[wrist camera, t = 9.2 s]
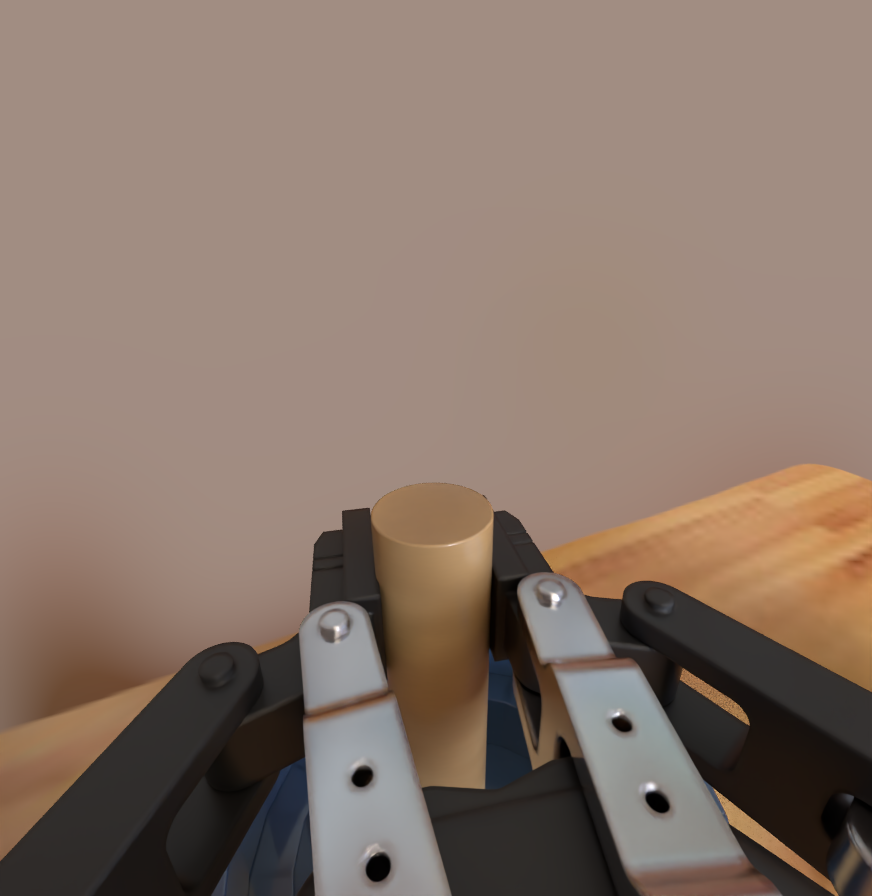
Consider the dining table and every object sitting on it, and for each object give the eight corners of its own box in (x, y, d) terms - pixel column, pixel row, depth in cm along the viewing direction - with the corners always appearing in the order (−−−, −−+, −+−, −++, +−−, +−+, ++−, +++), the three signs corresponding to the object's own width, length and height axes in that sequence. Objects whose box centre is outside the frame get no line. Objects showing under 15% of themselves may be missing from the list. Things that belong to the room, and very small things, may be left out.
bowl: (135, 1345, 11) (31, 1280, 8) (303, 711, 25) (285, 614, 22) (834, 1324, 11) (955, 1253, 8) (602, 704, 25) (619, 606, 22)
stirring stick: (368, 1037, 14) (289, 587, 7) (382, 856, 18) (338, 464, 11) (522, 1033, 14) (575, 580, 7) (501, 852, 18) (523, 460, 11)
